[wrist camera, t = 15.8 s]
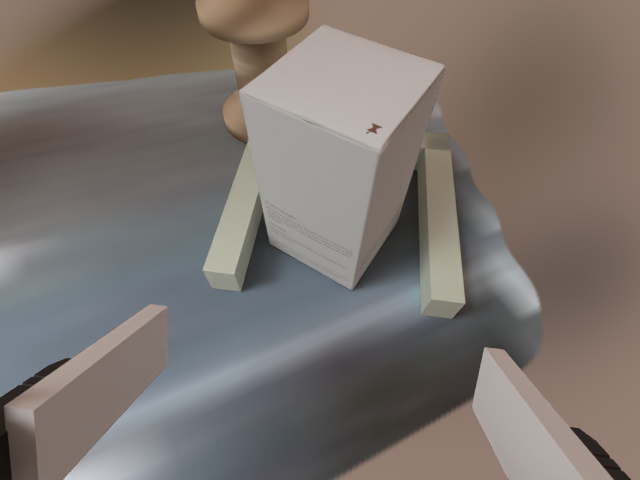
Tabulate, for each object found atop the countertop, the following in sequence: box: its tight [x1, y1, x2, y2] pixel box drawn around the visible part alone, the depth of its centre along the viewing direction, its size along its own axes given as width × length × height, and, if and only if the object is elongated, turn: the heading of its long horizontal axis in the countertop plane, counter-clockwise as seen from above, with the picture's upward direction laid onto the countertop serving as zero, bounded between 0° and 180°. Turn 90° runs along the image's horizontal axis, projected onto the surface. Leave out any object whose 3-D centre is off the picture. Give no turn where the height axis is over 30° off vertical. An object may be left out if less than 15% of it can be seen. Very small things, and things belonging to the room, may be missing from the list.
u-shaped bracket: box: [202, 132, 465, 319], centre depth 27 cm, size 16×15×2 cm
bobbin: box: [196, 0, 309, 143], centre depth 30 cm, size 8×8×10 cm
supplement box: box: [239, 25, 445, 290], centre depth 22 cm, size 7×7×13 cm
